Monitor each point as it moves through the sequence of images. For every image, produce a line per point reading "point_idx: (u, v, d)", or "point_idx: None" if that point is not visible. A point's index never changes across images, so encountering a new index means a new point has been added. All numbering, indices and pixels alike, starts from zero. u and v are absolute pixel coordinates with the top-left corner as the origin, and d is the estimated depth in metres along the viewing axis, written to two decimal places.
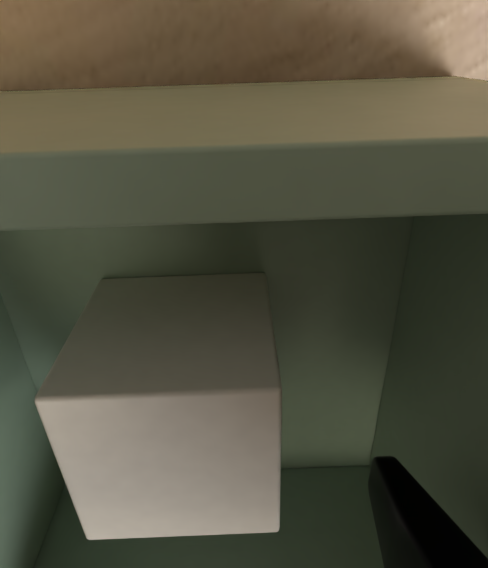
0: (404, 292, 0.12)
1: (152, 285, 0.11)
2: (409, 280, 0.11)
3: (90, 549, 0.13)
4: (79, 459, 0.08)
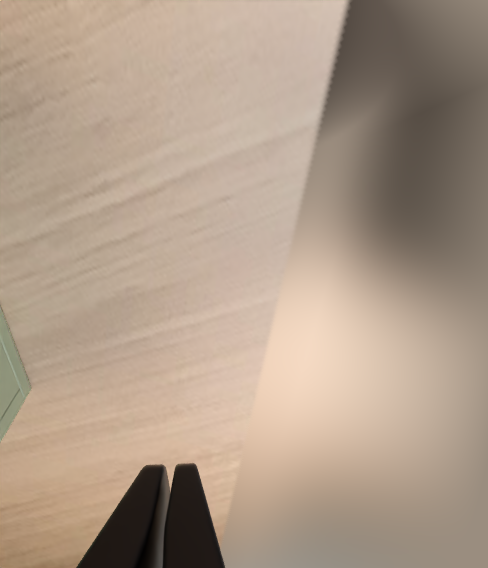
0: None
1: None
2: None
3: None
4: None
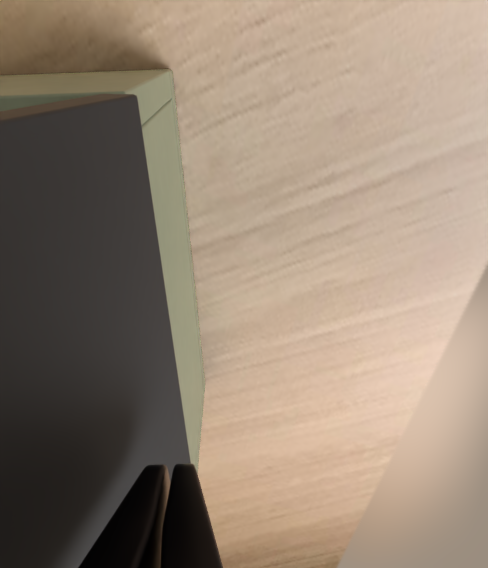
0: None
1: None
2: None
3: None
4: None
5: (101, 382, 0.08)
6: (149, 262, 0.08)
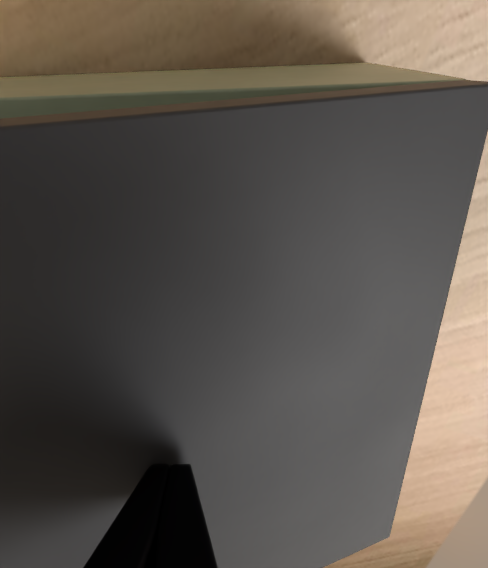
0: None
1: None
2: None
3: None
4: None
5: (357, 334, 0.09)
6: (444, 250, 0.09)
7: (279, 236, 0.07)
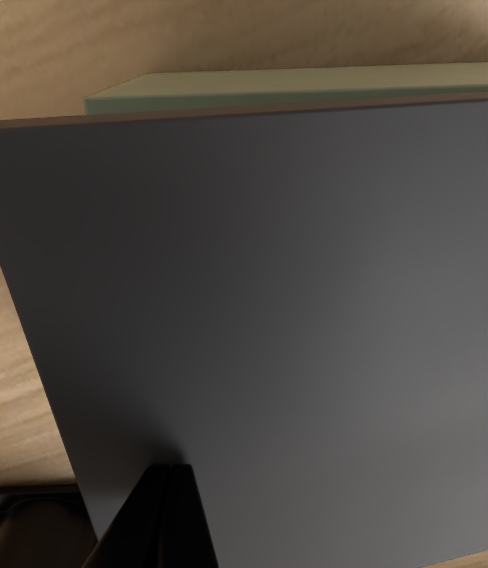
0: None
1: None
2: None
3: None
4: None
5: None
6: None
7: None
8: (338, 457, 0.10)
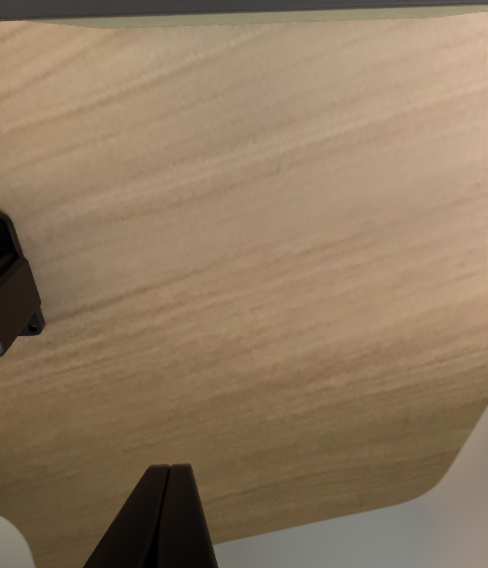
0: None
1: None
2: None
3: None
4: None
5: None
6: None
7: None
8: None
